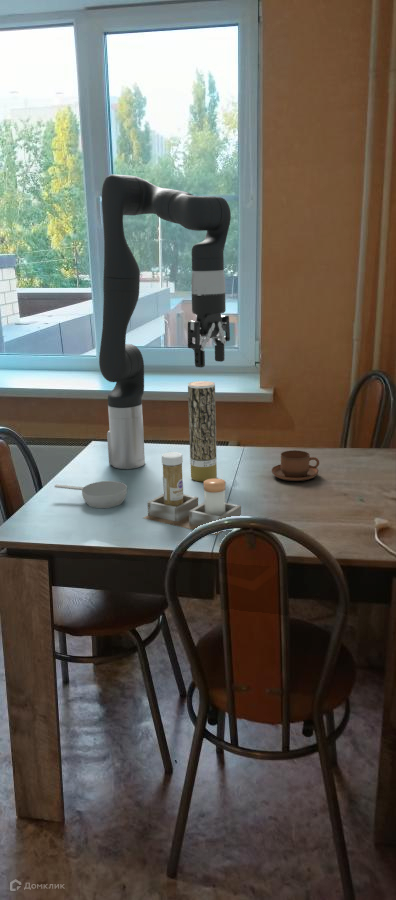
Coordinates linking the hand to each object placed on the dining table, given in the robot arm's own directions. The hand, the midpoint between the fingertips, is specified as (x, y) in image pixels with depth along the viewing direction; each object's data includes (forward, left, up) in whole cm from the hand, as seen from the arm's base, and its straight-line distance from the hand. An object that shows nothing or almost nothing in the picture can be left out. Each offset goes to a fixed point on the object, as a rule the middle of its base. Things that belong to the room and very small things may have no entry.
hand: (210, 364), depth 158 cm
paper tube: (-9, +10, -32) cm, 35 cm away
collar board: (+5, -16, -32) cm, 36 cm away
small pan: (-24, -17, -32) cm, 44 cm away
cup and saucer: (+11, +22, -32) cm, 41 cm away
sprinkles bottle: (-1, -16, -31) cm, 35 cm away
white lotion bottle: (+11, -16, -31) cm, 36 cm away
